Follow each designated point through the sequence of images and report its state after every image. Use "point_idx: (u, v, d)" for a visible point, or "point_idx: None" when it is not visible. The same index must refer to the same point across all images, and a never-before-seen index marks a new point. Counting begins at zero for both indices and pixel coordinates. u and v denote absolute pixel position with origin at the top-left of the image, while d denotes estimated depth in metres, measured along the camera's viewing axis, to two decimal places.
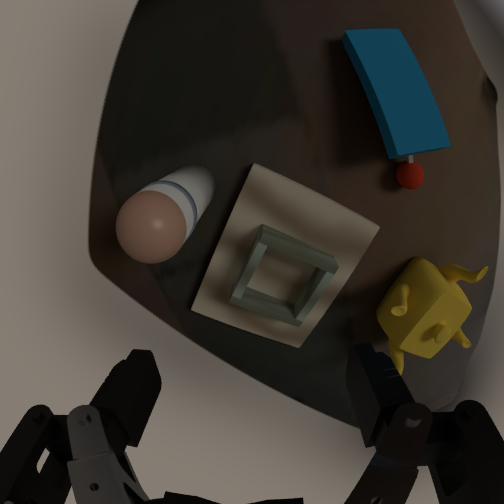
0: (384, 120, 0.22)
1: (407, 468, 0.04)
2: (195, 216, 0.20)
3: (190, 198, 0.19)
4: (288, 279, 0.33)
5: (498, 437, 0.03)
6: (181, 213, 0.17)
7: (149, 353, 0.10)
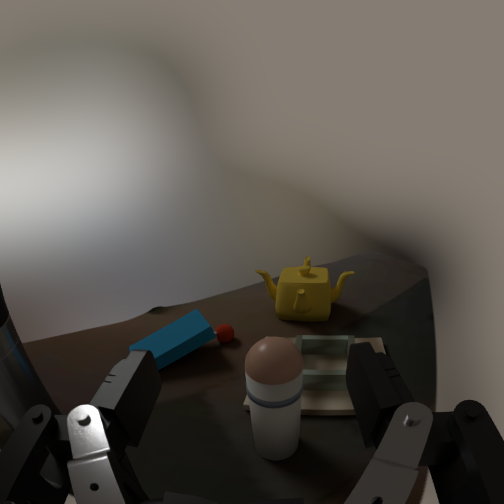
0: (192, 339, 0.41)
1: (407, 468, 0.04)
2: None
3: None
4: (327, 363, 0.38)
5: (498, 437, 0.03)
6: None
7: (149, 353, 0.10)
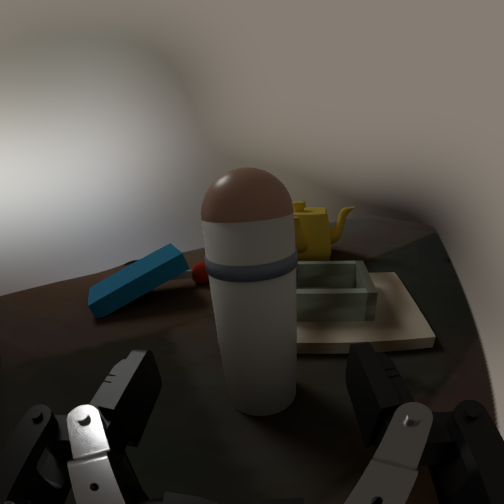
0: (159, 268, 0.34)
1: (407, 468, 0.04)
2: None
3: None
4: None
5: (498, 437, 0.03)
6: None
7: (149, 353, 0.10)
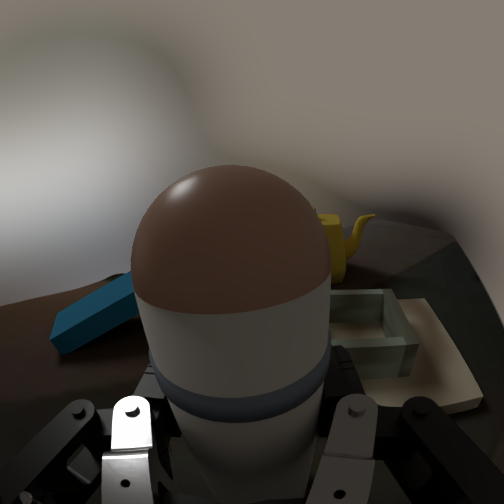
0: (130, 297, 0.26)
1: (362, 458, 0.04)
2: None
3: None
4: (352, 335, 0.22)
5: (456, 428, 0.04)
6: None
7: None
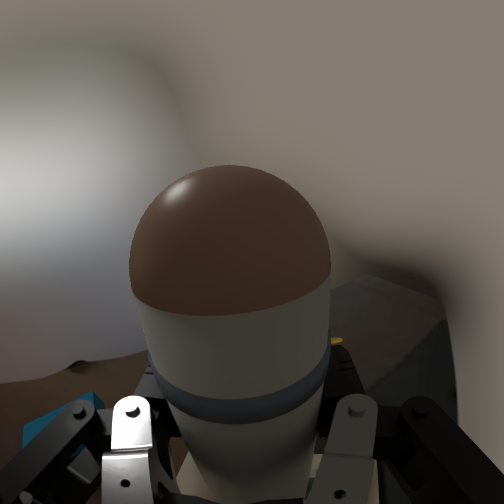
0: None
1: (362, 458, 0.04)
2: None
3: None
4: None
5: (456, 428, 0.04)
6: None
7: None
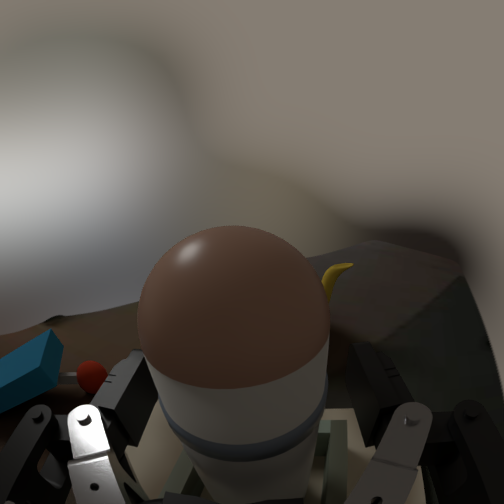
0: (17, 382, 0.15)
1: (407, 468, 0.04)
2: None
3: None
4: None
5: (498, 437, 0.03)
6: None
7: None
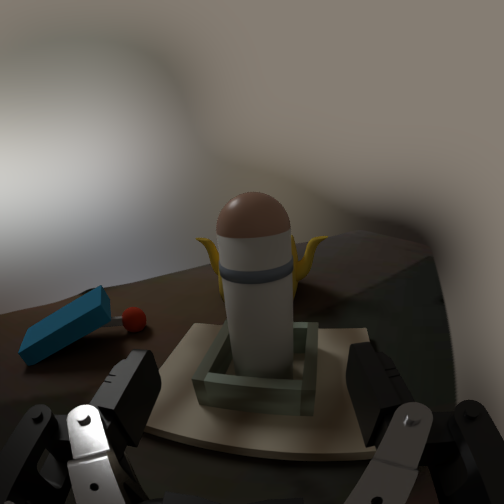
0: (78, 320, 0.26)
1: (407, 468, 0.04)
2: None
3: None
4: None
5: (498, 437, 0.03)
6: None
7: (149, 353, 0.10)
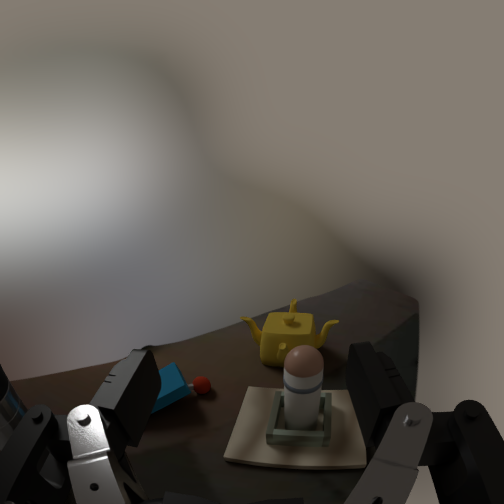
0: (167, 395, 0.40)
1: (407, 468, 0.04)
2: None
3: None
4: None
5: (498, 437, 0.03)
6: None
7: (149, 353, 0.10)
